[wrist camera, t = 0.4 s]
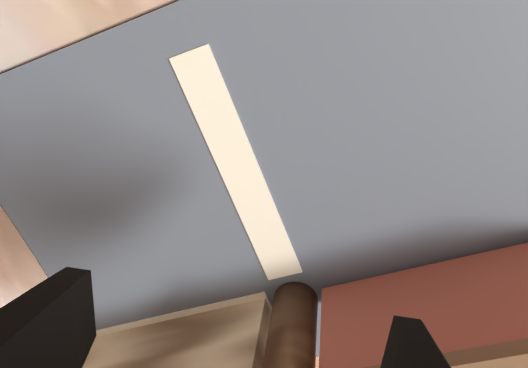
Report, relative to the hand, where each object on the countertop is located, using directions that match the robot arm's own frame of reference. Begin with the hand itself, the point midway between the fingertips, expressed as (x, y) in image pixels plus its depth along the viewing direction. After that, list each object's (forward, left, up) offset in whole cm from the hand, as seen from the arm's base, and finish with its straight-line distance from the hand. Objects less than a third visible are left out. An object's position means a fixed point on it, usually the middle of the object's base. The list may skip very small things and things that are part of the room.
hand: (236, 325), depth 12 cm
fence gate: (-6, -5, -9) cm, 12 cm away
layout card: (-1, 0, -9) cm, 10 cm away
